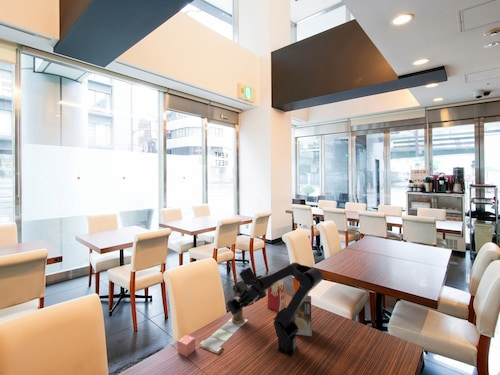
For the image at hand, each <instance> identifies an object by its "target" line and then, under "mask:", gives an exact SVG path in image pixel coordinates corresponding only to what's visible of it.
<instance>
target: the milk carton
mask: <svg viewBox="0 0 500 375" xmlns="http://www.w3.org/2000/svg"><path fill="white" fill-rule="evenodd" d="M266 299H267V303H266V308H267V310H269V309H270V310H273V311H276V312H277V313H278V312H279V311H281V310H282V309H284V308H285V307H286V308H287V306H288V303H287V294H286V288H285V283H284V278H283V279H281V280H279V281H277V282H276V283H275V284H274V285H273V286H271V287H270V288H268V289H267V298H266Z"/></svg>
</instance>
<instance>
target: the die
mask: <svg viewBox="0 0 500 375" xmlns="http://www.w3.org/2000/svg"><path fill="white" fill-rule="evenodd" d="M195 350H196V337H193V336H192V335H189V334H185V335H184V336H182V337H181V338H180V339H179V340H177V354H179V355H183V356H184V357H186V358H187V357H188V356H189V355H191V354H192V353H193V352H194V351H195Z"/></svg>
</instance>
